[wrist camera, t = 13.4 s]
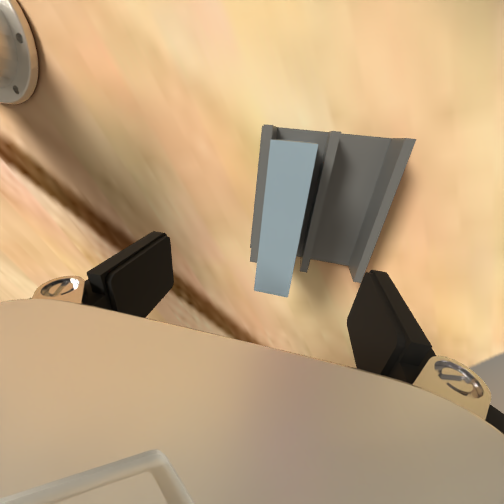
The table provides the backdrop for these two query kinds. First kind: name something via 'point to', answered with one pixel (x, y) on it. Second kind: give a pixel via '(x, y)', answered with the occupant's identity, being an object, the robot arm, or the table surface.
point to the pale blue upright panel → (283, 213)
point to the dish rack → (339, 194)
